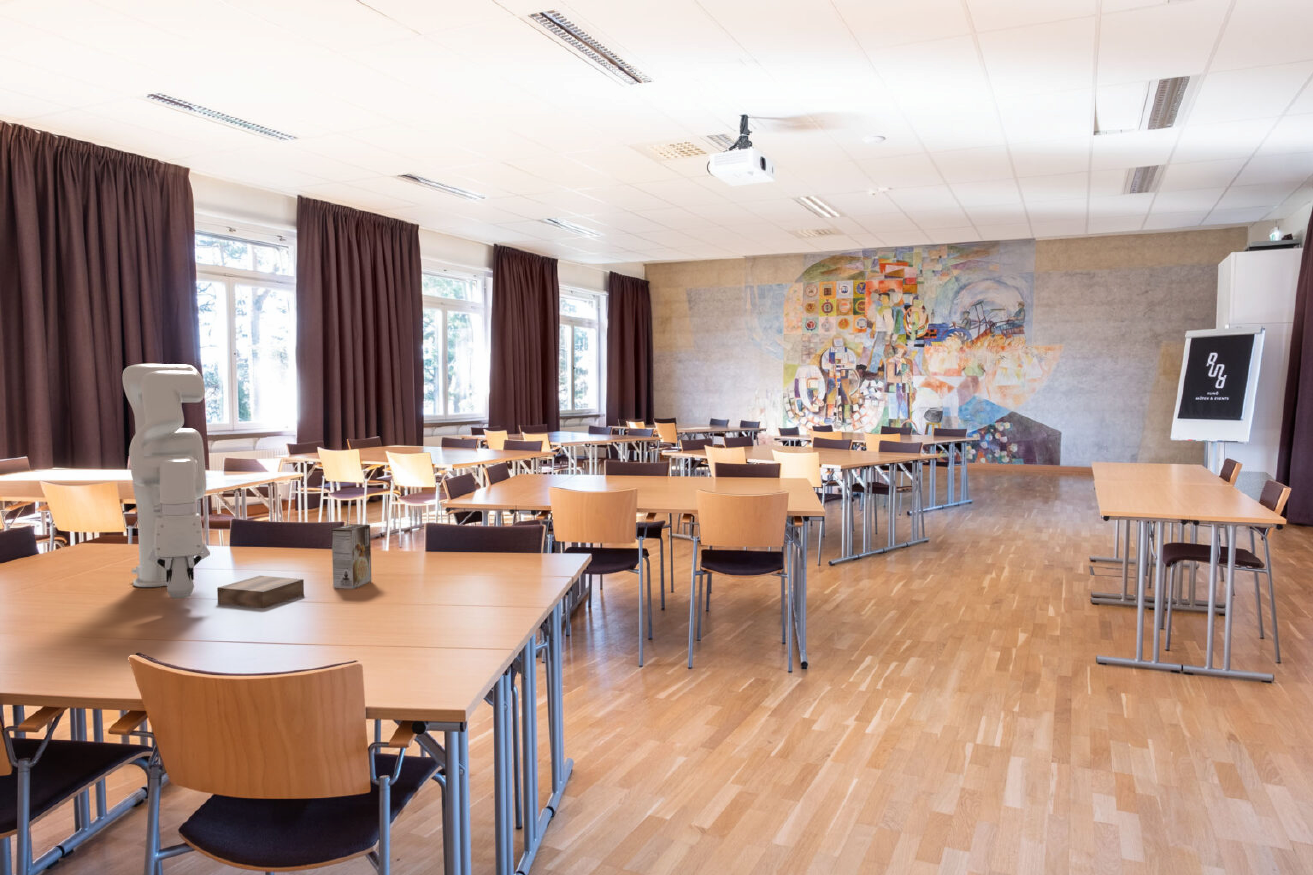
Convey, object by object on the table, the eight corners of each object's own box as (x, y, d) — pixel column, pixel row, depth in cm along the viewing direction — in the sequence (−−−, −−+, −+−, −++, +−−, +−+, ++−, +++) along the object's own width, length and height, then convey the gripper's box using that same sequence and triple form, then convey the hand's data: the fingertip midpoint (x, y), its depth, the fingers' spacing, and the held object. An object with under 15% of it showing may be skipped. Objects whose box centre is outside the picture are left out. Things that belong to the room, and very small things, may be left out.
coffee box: (351, 580, 231) (350, 523, 230) (372, 581, 230) (371, 524, 229) (332, 588, 222) (330, 528, 222) (353, 589, 221) (352, 529, 220)
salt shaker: (174, 593, 205) (172, 541, 204) (198, 593, 206) (197, 541, 205) (162, 599, 199) (160, 546, 198) (187, 599, 200) (185, 546, 199)
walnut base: (217, 603, 206) (217, 587, 206) (260, 590, 220) (259, 575, 219) (263, 607, 202) (263, 591, 202) (303, 594, 215) (303, 579, 215)
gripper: (137, 514, 194) (139, 591, 195) (216, 509, 201) (218, 584, 203) (140, 509, 200) (142, 583, 202) (216, 505, 208) (218, 577, 209)
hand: (180, 583), depth 202 cm, fingers closed on salt shaker, 3 cm apart
